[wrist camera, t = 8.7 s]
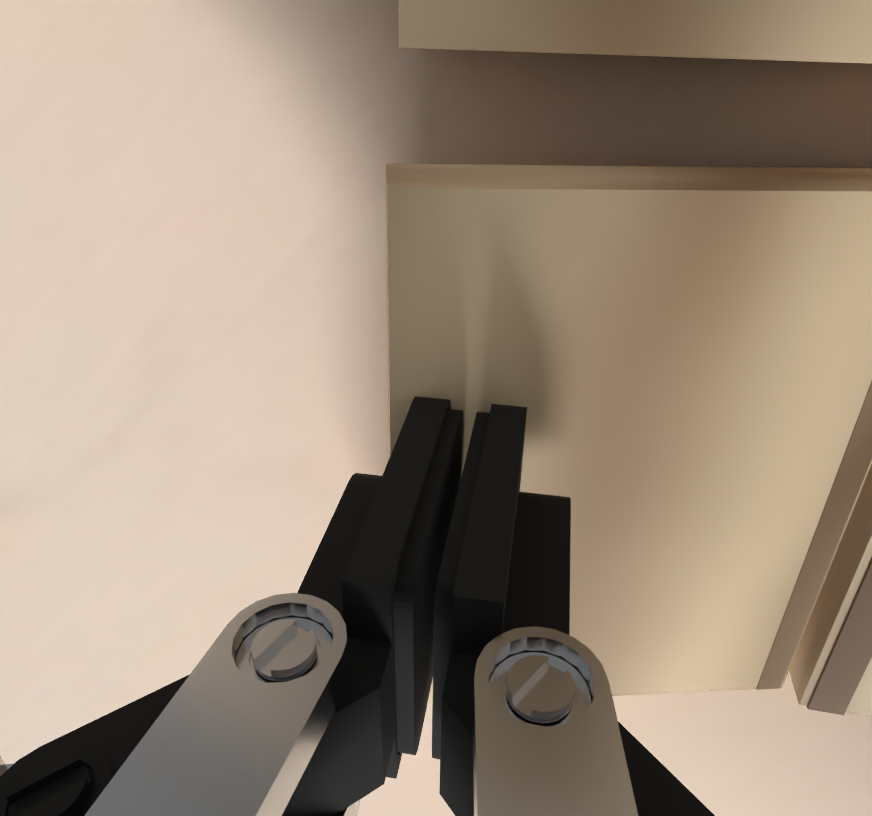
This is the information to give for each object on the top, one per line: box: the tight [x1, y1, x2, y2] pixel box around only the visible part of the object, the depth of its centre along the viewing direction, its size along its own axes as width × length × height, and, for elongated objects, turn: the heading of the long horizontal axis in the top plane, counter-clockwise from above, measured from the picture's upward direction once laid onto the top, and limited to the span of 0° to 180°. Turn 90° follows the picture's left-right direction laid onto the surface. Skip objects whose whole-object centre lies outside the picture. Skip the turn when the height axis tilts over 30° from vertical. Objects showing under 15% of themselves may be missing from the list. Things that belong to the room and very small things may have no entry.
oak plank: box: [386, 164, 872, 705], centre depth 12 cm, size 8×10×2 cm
